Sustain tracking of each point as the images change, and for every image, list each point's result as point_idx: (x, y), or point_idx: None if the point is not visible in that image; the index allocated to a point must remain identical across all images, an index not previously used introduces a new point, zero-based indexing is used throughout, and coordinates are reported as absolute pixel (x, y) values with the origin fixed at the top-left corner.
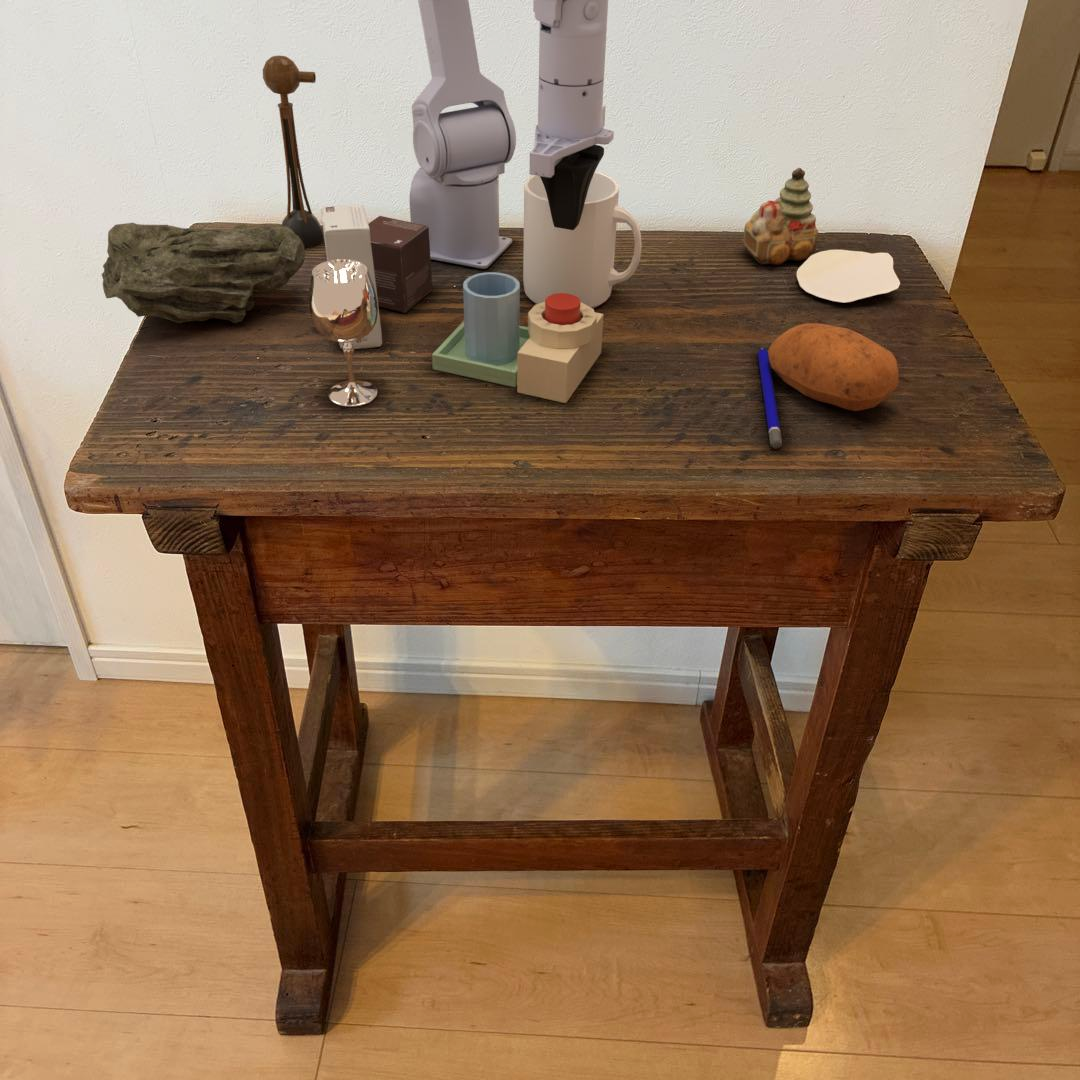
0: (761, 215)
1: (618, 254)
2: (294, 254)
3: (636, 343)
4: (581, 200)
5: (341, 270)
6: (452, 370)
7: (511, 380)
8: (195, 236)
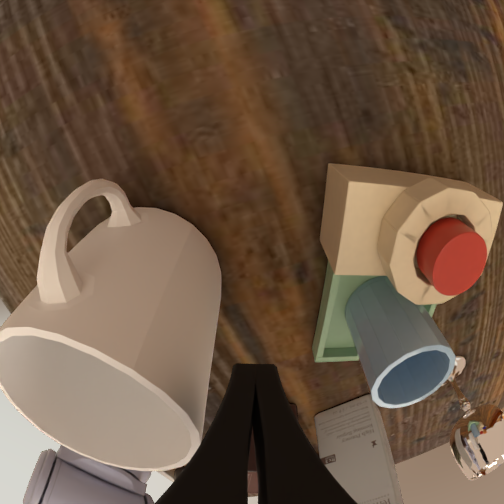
0: None
1: (17, 241)
2: None
3: (273, 113)
4: (272, 430)
5: (463, 470)
6: None
7: None
8: None
